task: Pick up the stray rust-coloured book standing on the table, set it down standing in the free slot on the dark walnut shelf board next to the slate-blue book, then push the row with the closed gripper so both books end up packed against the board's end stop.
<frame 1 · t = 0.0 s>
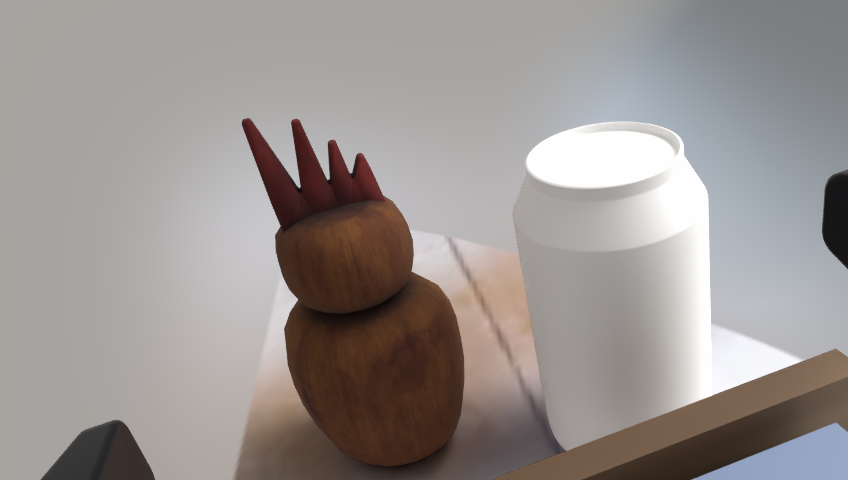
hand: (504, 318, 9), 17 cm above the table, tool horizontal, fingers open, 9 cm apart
beverage can: (629, 430, 29), on the table
wooden figurine: (402, 437, 31), on the table
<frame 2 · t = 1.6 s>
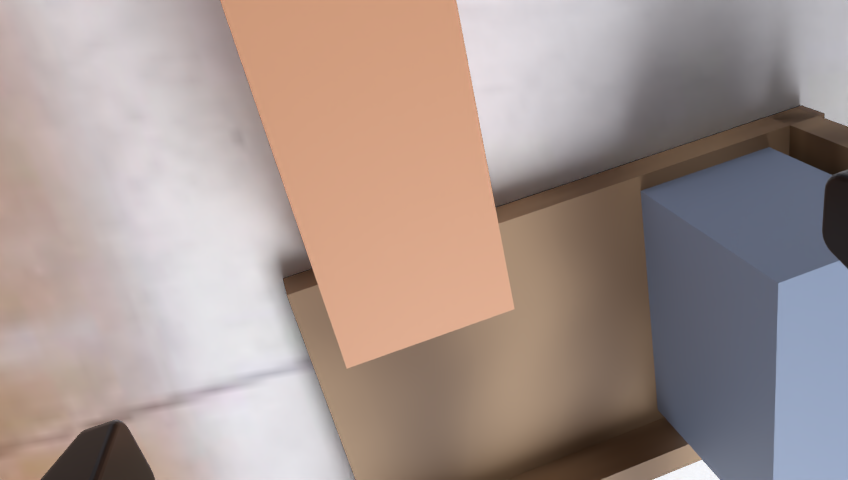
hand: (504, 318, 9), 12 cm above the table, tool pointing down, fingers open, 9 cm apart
blue book: (709, 288, 24), point 1 cm above the table, touching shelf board
rust book: (333, 84, 19), on the table
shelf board: (576, 328, 25), on the table
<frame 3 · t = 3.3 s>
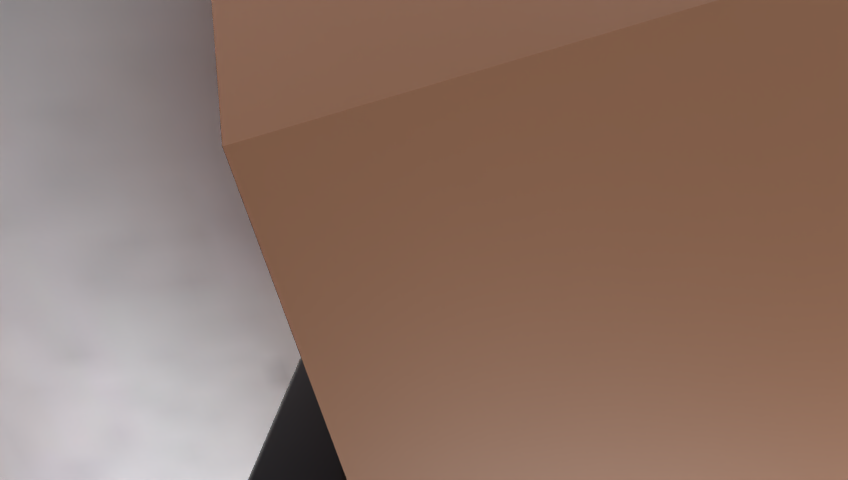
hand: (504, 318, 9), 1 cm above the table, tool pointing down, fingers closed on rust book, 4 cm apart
rust book: (470, 270, 10), on the table, touching gripper
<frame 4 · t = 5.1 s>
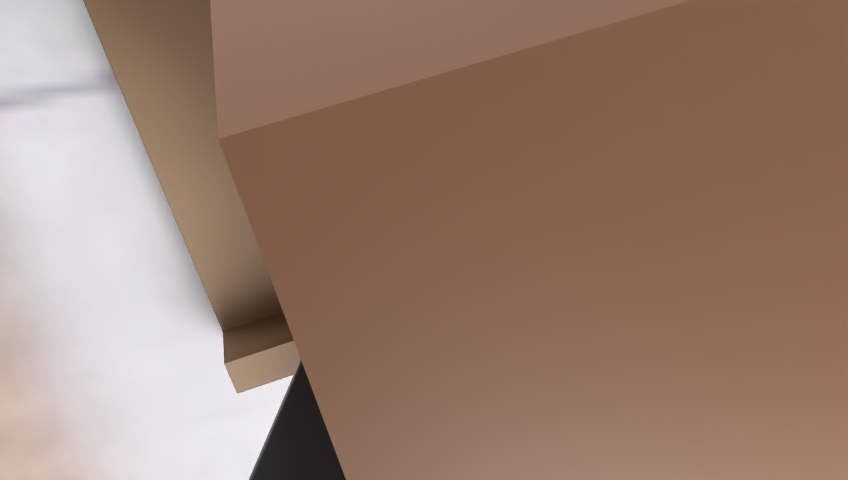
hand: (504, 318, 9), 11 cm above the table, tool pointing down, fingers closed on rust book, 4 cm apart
rust book: (470, 269, 10), point 10 cm above the table, touching gripper
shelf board: (485, 75, 19), on the table
when the fingers open (3 cm above the table, at t = 6.8 s): rust book drops 1 cm, resting on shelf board.
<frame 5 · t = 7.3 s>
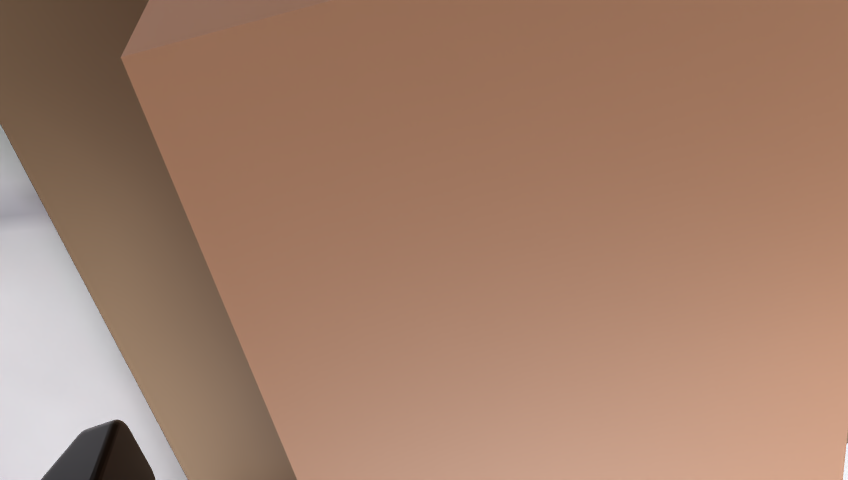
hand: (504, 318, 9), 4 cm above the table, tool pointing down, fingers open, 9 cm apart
rust book: (418, 233, 11), point 1 cm above the table, touching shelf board
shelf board: (638, 166, 12), on the table
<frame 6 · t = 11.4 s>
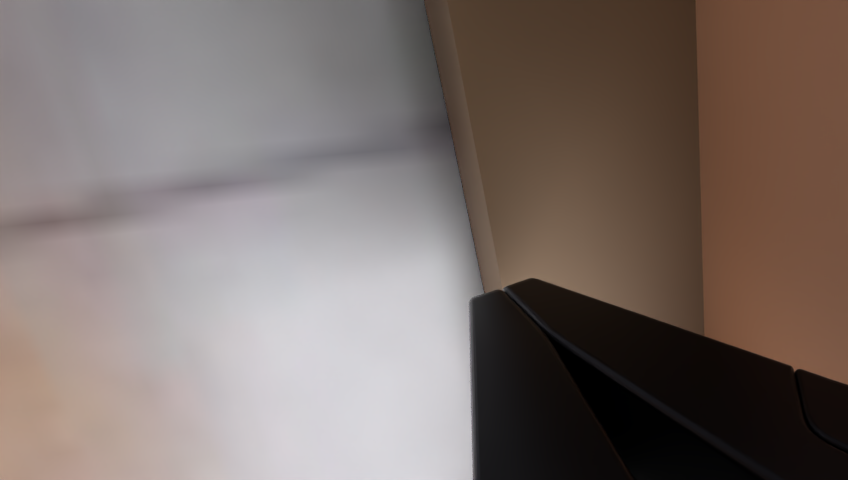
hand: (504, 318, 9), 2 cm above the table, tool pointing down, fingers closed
rust book: (831, 168, 10), point 1 cm above the table, touching gripper, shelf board
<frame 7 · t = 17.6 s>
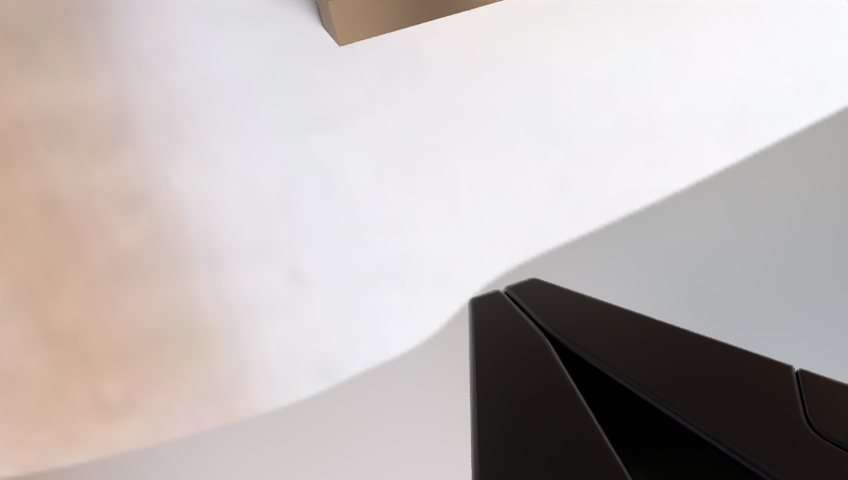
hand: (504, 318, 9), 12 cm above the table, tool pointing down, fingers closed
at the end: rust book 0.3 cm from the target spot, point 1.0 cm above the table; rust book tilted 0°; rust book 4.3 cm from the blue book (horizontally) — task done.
